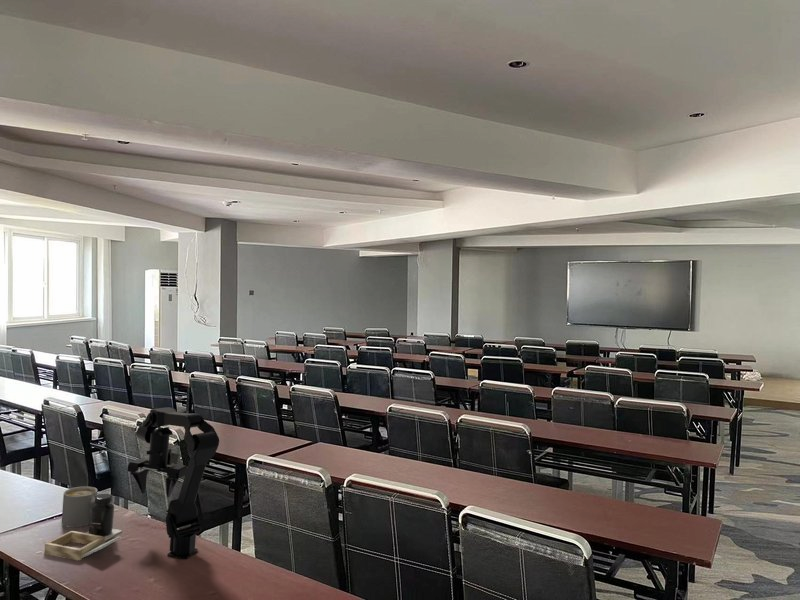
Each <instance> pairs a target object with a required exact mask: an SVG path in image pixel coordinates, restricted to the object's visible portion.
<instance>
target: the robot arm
mask: <svg viewBox="0 0 800 600" xmlns="http://www.w3.org/2000/svg"><path fill="white" fill-rule="evenodd" d="M169 426H175V427H181V428H183V429H184V435H183V441H184V442H185V445H186V446H187V447H186V452H187V454H188V456H189V457H188V458H189V461H188V465H186V464H185V465H183V464H178V461H179V457H180V454H178V453H173V452H172V448H169V447H170V436H172V435H173V431H172V430H171V429H170V427H169ZM193 428H198V430H200V431H201V432H200V433H193V434H192V432H191V429H193ZM135 435H136V438H137V439H138V440H140V441H142V442H144V443H147V444H149V449H148V450H147V451H146V455H147V456H148V459H144V458H137V459H134V460H131V461H129V463H128V464H127V468H126V469H127V470H126V471H127V472H130V475H131V476H133V478H134V480H135V481H136V484H137V486H138V487H139V488H138V489H139V490H140V492H141V494H144V493H146V490H147V478H148V477H147V475H148V473H149V471H154V472H158V473H159V472H160V473H166V475H167V477H166V478H165V488H166V489H165V490H166V498H170V497H171V495H172V493H173V491H174V488H175V486H176V484H177V483H178V481H179V479H181V478H183V477H184V478H183V481H182V484H181V487H180V488H181V489H180V490H179V491H180V492H179V494H178V498H175V499H173V500H170V501H169V504H168V508H167V510H166V515H165V516H166V517H165V527H166V533H167V536H168V538H170V539H169V552H168V553H167V557H172V558H176V559H177V558H179V559H183V560H186V559H187V560H188V558H191V556H193V555H194V554H195V553H197V552H198V548H196V540H197V539H196V538H197V533H201V531H202V529H203V525H202V522H201V520H200V516H199V515H198V512H199V511H198V506H197V505H196V499H197V496H198V493H199V490H200V489H199V488H200V487H201V486H200V485H201V483H202V479H203V476H204V472H205V469H206V466H207V464H208V462H209V461H210V460H211V459H212V458H213V457H214V456H215V455H216V452H217V450H218V448H219V446H220V445H219V444H220V438H219V436H218V433H217V431H216V430H215V428H214V426H212V425H211V424H210V423H208V422H207V421H206V420H205V419H204V417H203V415H202V414H200V413H191V412H190V413H189V412H188V413H187V412H179V411H176V409H175V408H172V407H170V406H169V407H159V408H152V409H150V410H149V412H148V414H147V415H146V417H145V419H143V420H142V424H141V425H139V426H138V428H137V429H136V432H135ZM172 464H174V465H173V466H171V465H172ZM196 551H197V552H196Z"/></svg>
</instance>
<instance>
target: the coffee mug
mask: <svg viewBox="0 0 800 600" xmlns="http://www.w3.org/2000/svg"><path fill="white" fill-rule="evenodd" d="M97 495H98V488H96V487H94V486H77V487H75V486H74V487H71V488H68V489H66V490H65V491H63V498H62V510H61V513H62V514H61V525H62V524H63V525H62V526H63V527H67V526H68V527H67V528H79V527H85V526H89V525H88V524H89V521H90V510H91V507H92V505H94V504H95V503H94V502H95V496H97Z"/></svg>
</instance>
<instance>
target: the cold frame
mask: <svg viewBox="0 0 800 600" xmlns="http://www.w3.org/2000/svg"><path fill="white" fill-rule="evenodd" d="M69 542H70V543H75V542H76V544H80V543H81V544H82V545H84V546H82V547H80V548H77V547H71V546H68V544H70V543H69ZM105 542H106V541H105V537H103V536H98V535H92V534H87V533H86V532H81V531H75V530H70V531H68V532H65V533H64V534H62V535H60V536H58V537H55V538H53V539H52V540H49V541H48V542H45V543H44V553H45V554H44V553H43V554H44V555H48V554H50V555H49V556H53V555H55V556H54V557H58V556H60V557H59V558H63V557H65V558H64V559H68V558H69V560H73V559H74V561H78V560H79V561H81V560H83V559H85V558H86V556H85V558H84V557H83V559H82V558H81V556H82V555H84V554H85V553H87V552H89V551H91V550H93V549H94V548H96V547H98V546H100V545H102V544H104V543H105ZM67 543H68V544H67ZM65 544H66V545H65ZM86 544H87V545H86ZM63 545H64V546H63ZM88 556H91V554H89V555H87V557H88Z"/></svg>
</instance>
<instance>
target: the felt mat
mask: <svg viewBox="0 0 800 600" xmlns="http://www.w3.org/2000/svg"><path fill="white" fill-rule="evenodd" d="M122 532H123V530H121V529H116V528H113V529H112V533H111V534H109V535H108V536H105V541H104V542H107V541H109V539H111V538H114V537H115V536H117V535H118V534H121V533H122ZM85 533H87V534H89V530H88V531H86V532H85Z"/></svg>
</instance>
